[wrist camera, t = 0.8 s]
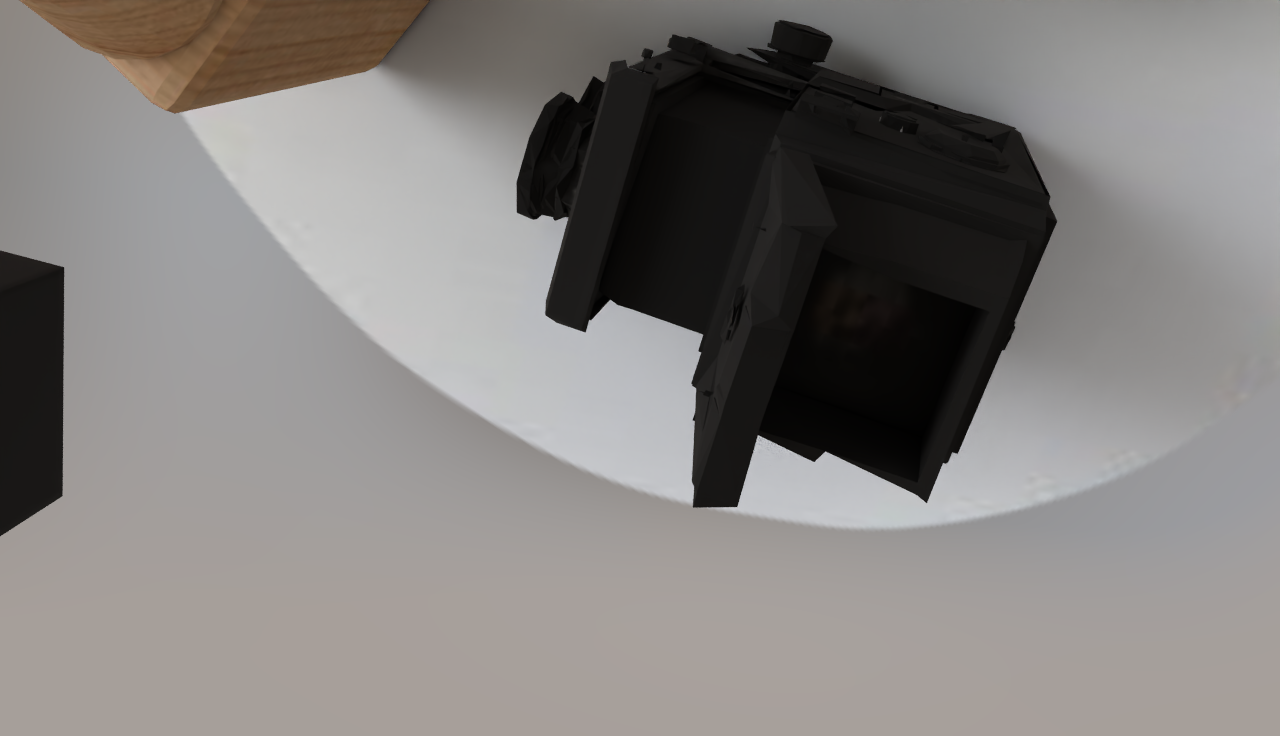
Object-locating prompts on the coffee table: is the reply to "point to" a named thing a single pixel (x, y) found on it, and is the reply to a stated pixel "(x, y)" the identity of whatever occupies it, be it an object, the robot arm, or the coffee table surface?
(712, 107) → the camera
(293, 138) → the coffee table surface
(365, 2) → the decorative item
